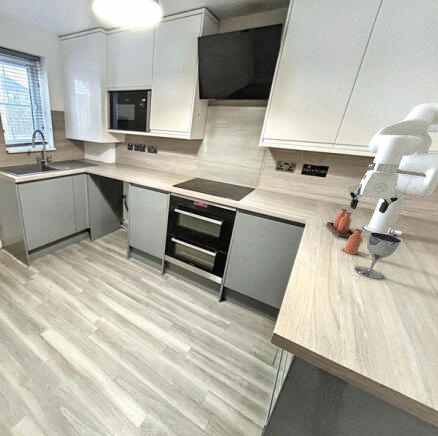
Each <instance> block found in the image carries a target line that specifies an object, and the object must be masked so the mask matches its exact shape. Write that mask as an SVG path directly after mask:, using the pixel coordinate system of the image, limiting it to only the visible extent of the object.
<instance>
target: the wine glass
mask: <svg viewBox="0 0 438 436" xmlns="http://www.w3.org/2000/svg"><path fill="white" fill-rule="evenodd" d="M401 243H402V241H401V240H400V239H399V238H397V237H396V236H394V235H386V234H381V233H374V232H371V233H370V234H369V237H368V239H367V243H366V246H367V247H366V249H367V251H368V253H369V254H370V256H371V263H370V267H369V268H365V267H357V268H356V271H357V272H358V273H359V274H361V275H363V276H365V277H368V278H372V279H376V280H379V279H382V278H383V277H382V275H381V274H380V273H379V272H377V271H376V270H373V269H374V267H375V265H376V264H377V263H378V261H380V260H382V259H385V258H387V257H390V256H392V255H393V254H394V253H396V251H397V250H398V248H399V246H400V245H401Z"/></svg>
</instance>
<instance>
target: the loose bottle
mask: <svg viewBox="0 0 438 436" xmlns="http://www.w3.org/2000/svg"><path fill="white" fill-rule="evenodd" d="M363 232H364V230H363V229H362V228H355V231H354V234H352V235H350V236H349V239H347V241H346V244H345V247H344V249H343V251H344V252H345V253H346V254H349V255H357V254H358V252H359V249H360V248H361V244H362V242H363V240H364V238H363V235H362V233H363Z"/></svg>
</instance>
